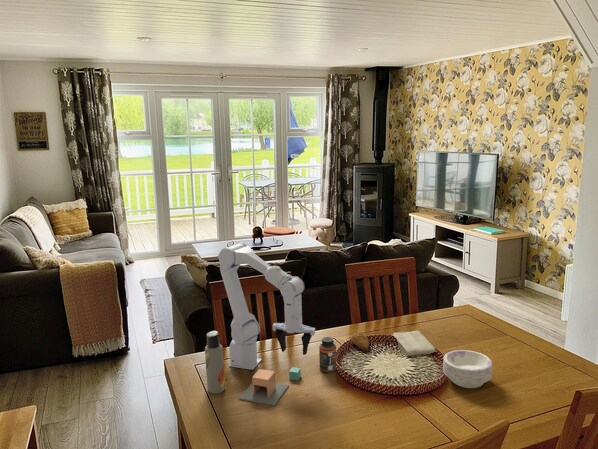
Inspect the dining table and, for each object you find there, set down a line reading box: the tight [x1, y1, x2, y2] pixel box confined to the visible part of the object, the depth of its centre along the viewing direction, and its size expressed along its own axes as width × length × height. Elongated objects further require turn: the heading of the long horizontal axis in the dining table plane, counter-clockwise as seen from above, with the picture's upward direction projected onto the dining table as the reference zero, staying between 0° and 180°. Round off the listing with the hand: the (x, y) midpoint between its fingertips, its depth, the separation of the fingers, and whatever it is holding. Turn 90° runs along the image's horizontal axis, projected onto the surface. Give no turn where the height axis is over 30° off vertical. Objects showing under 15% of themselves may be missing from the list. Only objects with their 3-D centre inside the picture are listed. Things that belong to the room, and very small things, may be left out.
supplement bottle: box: [318, 336, 337, 373], centre depth 170 cm, size 6×6×11 cm
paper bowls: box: [442, 349, 493, 389], centre depth 160 cm, size 15×15×8 cm
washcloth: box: [391, 330, 437, 357], centre depth 188 cm, size 12×18×3 cm, turn 9°
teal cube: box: [288, 367, 302, 381], centre depth 166 cm, size 3×3×3 cm
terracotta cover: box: [251, 368, 276, 397], centre depth 156 cm, size 6×6×6 cm
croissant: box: [350, 332, 370, 352], centre depth 189 cm, size 14×7×5 cm, turn 14°
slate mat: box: [239, 382, 290, 407], centre depth 157 cm, size 12×12×1 cm
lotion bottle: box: [204, 330, 226, 395], centre depth 158 cm, size 6×6×20 cm
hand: (294, 352), depth 164 cm, fingers open, 7 cm apart
